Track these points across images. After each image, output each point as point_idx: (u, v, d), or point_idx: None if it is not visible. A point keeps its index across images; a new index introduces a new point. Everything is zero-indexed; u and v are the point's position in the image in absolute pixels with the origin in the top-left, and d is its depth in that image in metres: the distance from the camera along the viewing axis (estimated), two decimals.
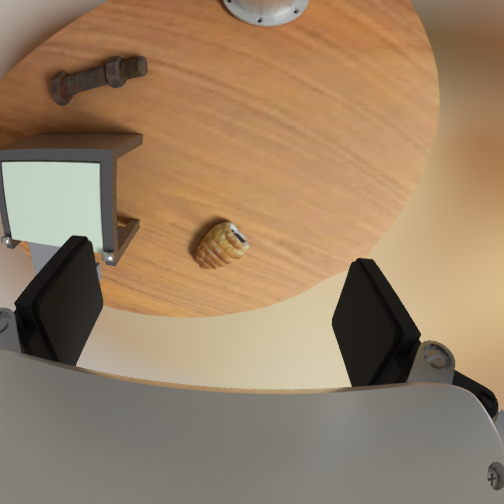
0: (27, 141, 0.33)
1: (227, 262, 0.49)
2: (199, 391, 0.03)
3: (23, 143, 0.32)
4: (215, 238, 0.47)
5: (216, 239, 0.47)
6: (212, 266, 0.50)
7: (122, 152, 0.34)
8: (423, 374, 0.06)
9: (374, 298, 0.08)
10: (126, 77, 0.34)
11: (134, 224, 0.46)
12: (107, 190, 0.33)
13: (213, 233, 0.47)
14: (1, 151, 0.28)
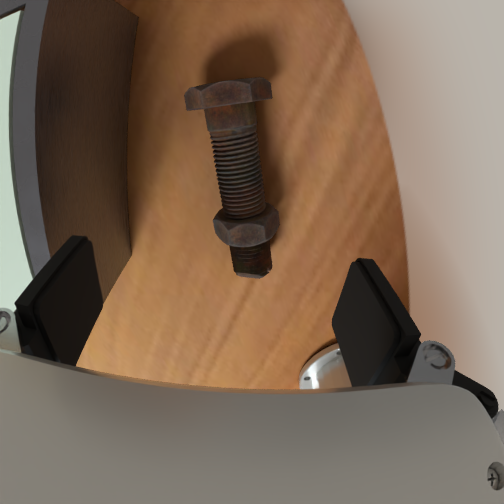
0: (95, 37, 0.12)
1: None
2: (199, 391, 0.03)
3: (83, 39, 0.10)
4: None
5: None
6: None
7: None
8: (423, 374, 0.06)
9: (374, 298, 0.08)
10: (232, 247, 0.23)
11: None
12: None
13: None
14: (45, 1, 0.06)
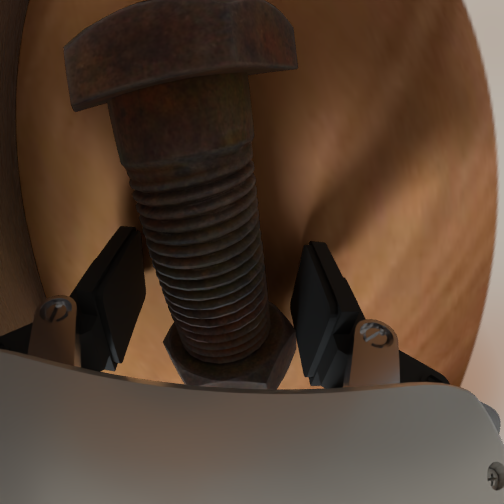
0: None
1: None
2: (199, 391, 0.03)
3: None
4: None
5: None
6: None
7: None
8: (366, 356, 0.06)
9: (318, 277, 0.09)
10: None
11: None
12: None
13: None
14: None
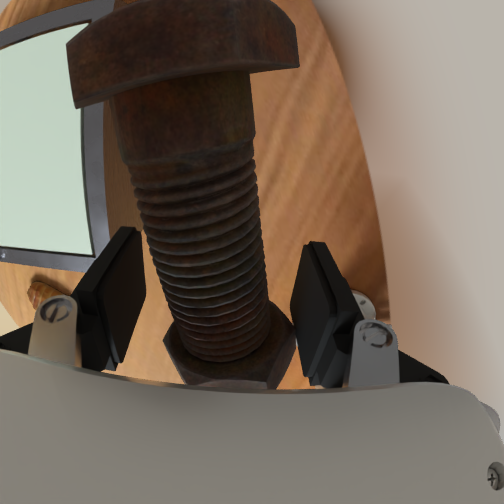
0: None
1: None
2: (199, 391, 0.03)
3: None
4: None
5: None
6: (33, 305, 0.36)
7: None
8: (366, 356, 0.06)
9: (317, 277, 0.09)
10: None
11: None
12: (61, 263, 0.21)
13: None
14: None
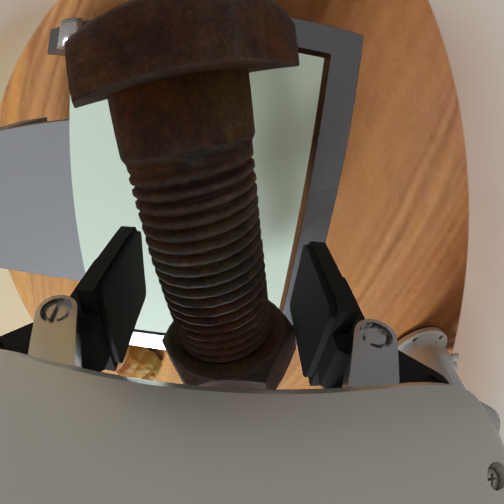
0: None
1: None
2: (199, 391, 0.03)
3: None
4: (141, 365, 0.35)
5: (140, 366, 0.35)
6: None
7: None
8: (365, 356, 0.06)
9: (317, 277, 0.09)
10: None
11: None
12: None
13: (144, 359, 0.35)
14: (355, 67, 0.11)
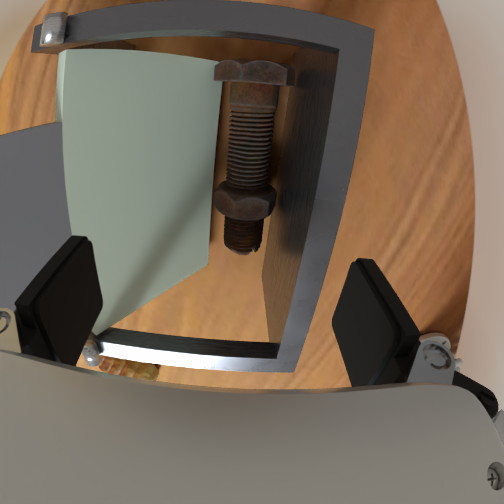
0: None
1: None
2: (199, 391, 0.03)
3: None
4: (138, 374, 0.34)
5: (136, 375, 0.34)
6: (100, 367, 0.34)
7: None
8: (423, 374, 0.06)
9: (374, 298, 0.08)
10: (261, 221, 0.24)
11: None
12: (220, 364, 0.19)
13: (140, 368, 0.34)
14: (366, 64, 0.10)
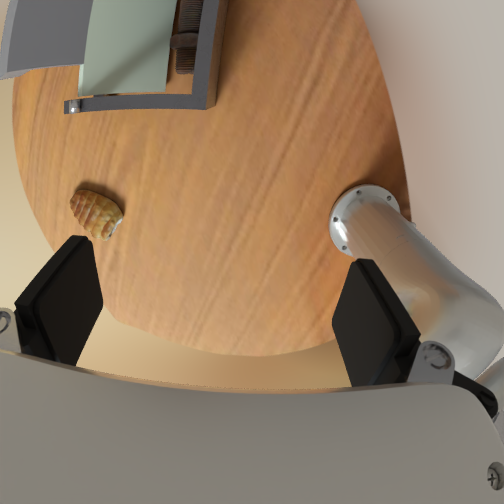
0: None
1: (85, 227, 0.42)
2: (199, 391, 0.03)
3: None
4: (103, 211, 0.41)
5: (102, 212, 0.41)
6: (75, 213, 0.41)
7: None
8: (423, 374, 0.06)
9: (374, 298, 0.08)
10: None
11: None
12: (154, 102, 0.25)
13: (106, 206, 0.41)
14: None
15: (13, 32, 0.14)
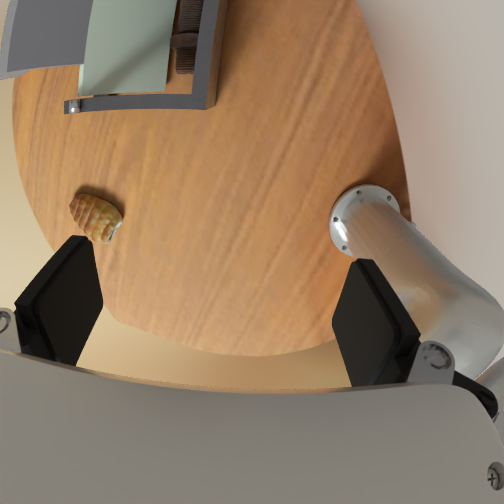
0: None
1: (85, 231, 0.42)
2: (199, 391, 0.03)
3: None
4: (103, 214, 0.41)
5: (102, 216, 0.41)
6: (75, 217, 0.41)
7: None
8: (423, 374, 0.06)
9: (374, 298, 0.08)
10: None
11: None
12: (155, 102, 0.25)
13: (105, 210, 0.41)
14: None
15: (13, 32, 0.14)
